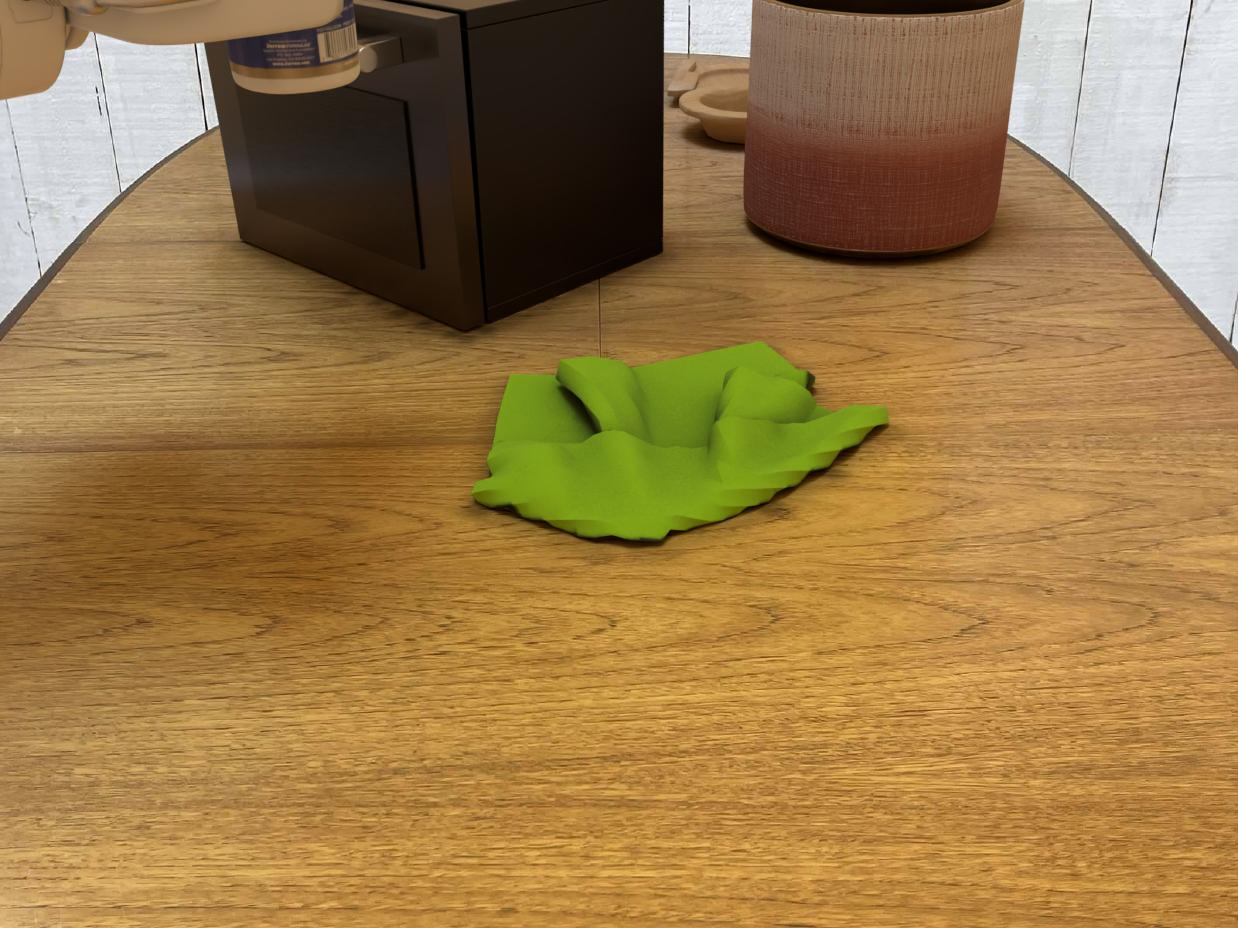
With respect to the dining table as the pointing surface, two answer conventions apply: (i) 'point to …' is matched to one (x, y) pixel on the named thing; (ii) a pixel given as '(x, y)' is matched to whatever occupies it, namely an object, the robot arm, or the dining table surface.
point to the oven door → (365, 165)
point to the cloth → (661, 441)
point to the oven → (561, 140)
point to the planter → (878, 122)
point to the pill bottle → (298, 58)
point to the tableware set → (714, 97)
